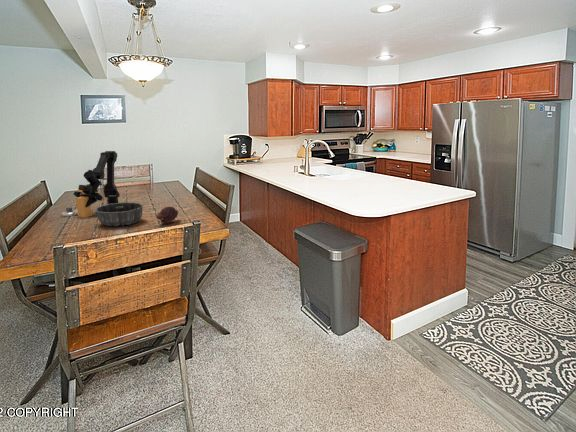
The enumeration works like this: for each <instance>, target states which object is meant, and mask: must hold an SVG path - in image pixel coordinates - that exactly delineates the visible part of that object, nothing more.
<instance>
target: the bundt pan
mask: <svg viewBox="0 0 576 432" xmlns="http://www.w3.org/2000/svg"><path fill="white" fill-rule="evenodd" d="M143 207H144V204H142V203H139V202H130V201H129V202H118V203H115V204H107V203H106V204H104V205H101V206H98V207H96V208H95V209H94V212H95V213H96V216H97V219H98V221H99V223H101V224H102V225H104V226H108V227H119V226H122V227H124V226H129V225H133V224H136V223H137V222H139V221H140V220H141V219H142V217H143Z"/></svg>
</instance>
